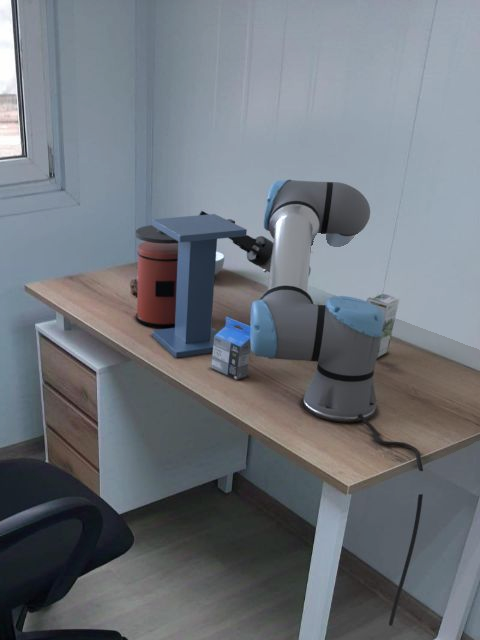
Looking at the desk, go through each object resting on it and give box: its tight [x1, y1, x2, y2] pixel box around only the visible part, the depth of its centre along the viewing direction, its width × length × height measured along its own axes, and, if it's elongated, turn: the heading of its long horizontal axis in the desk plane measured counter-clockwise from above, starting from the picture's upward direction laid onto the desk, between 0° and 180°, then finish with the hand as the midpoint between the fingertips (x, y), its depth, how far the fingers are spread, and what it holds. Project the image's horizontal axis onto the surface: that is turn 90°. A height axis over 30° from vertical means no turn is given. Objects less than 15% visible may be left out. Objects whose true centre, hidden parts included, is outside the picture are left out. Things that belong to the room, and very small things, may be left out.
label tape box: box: [210, 316, 251, 380], centre depth 173 cm, size 9×4×12 cm, turn 37°
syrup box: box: [366, 293, 400, 360], centre depth 183 cm, size 6×6×14 cm
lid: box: [135, 218, 236, 244], centre depth 197 cm, size 28×16×2 cm, turn 110°
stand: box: [151, 213, 248, 359], centre depth 185 cm, size 17×17×30 cm
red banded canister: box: [135, 241, 178, 330], centre depth 202 cm, size 16×16×20 cm
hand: (202, 217), depth 196 cm, fingers closed on lid, 3 cm apart
